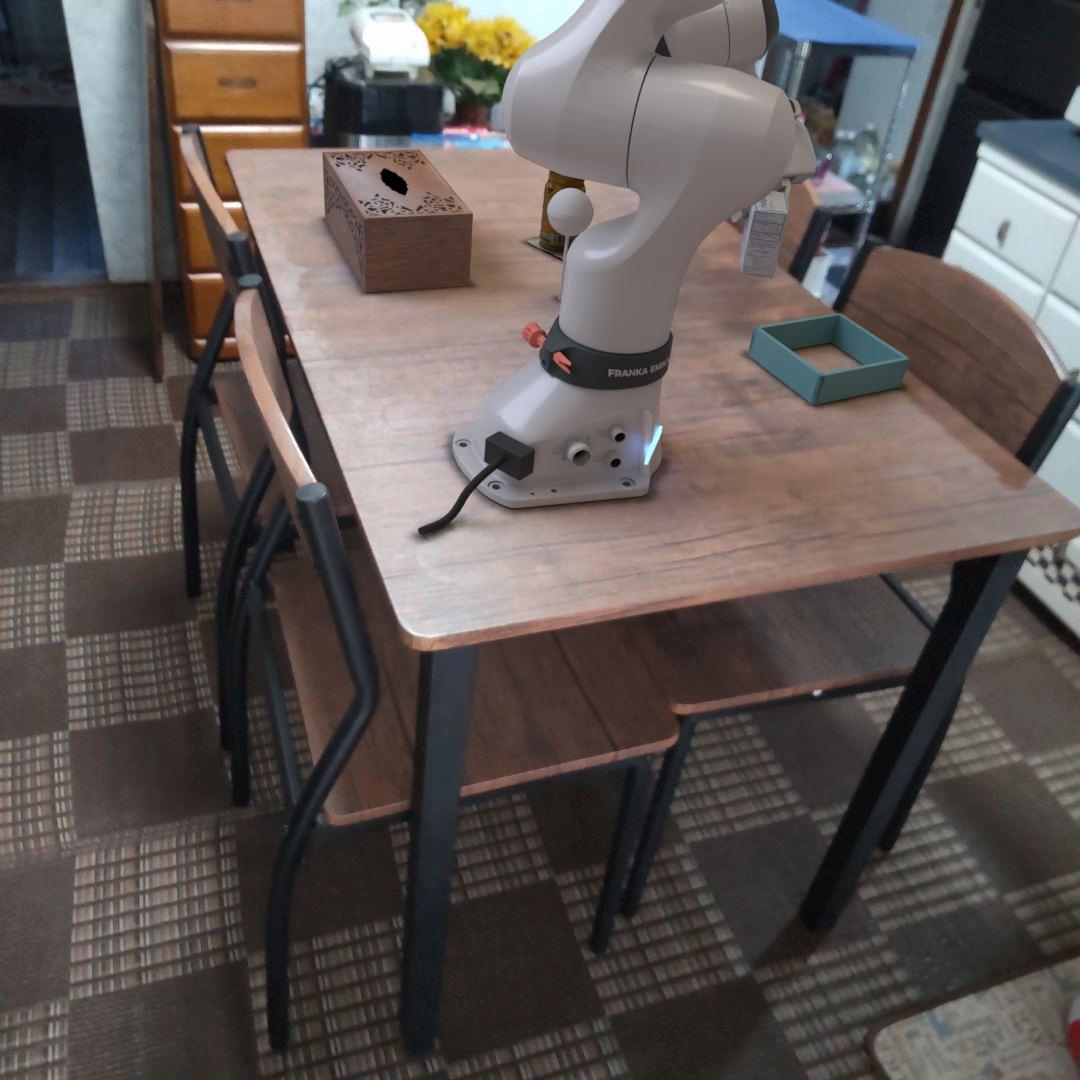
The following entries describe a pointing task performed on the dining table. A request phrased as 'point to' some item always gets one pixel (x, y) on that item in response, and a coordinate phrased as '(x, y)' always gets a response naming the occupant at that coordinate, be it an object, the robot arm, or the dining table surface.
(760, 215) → the medicine box
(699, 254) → the dining table surface
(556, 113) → the robot arm
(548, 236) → the condiment
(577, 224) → the lollipop
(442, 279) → the tissue box cover
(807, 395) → the storage box
